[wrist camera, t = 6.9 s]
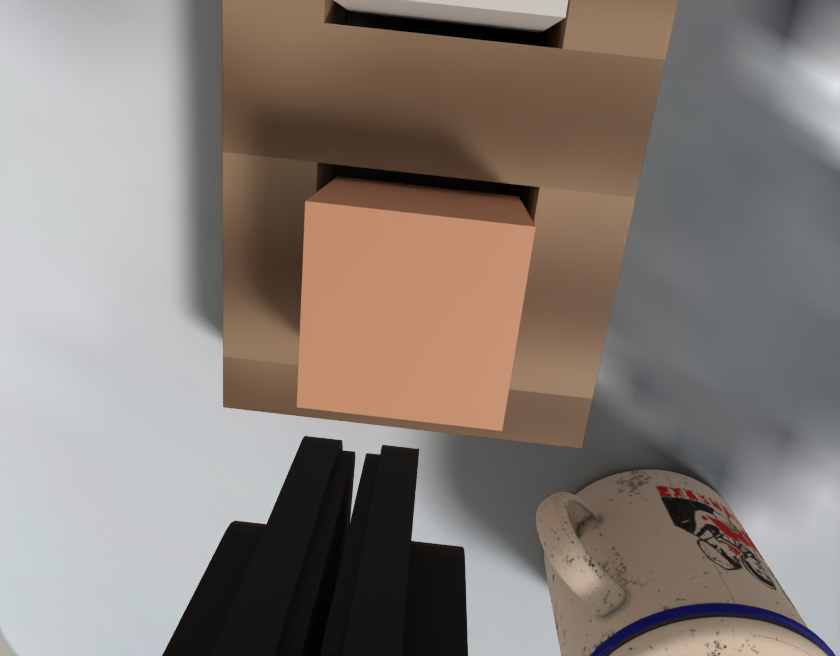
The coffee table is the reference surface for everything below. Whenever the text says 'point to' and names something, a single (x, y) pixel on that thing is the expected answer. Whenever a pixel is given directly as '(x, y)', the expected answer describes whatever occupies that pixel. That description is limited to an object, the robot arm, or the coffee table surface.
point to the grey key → (469, 12)
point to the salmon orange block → (411, 301)
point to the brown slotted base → (441, 156)
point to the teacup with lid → (662, 574)
